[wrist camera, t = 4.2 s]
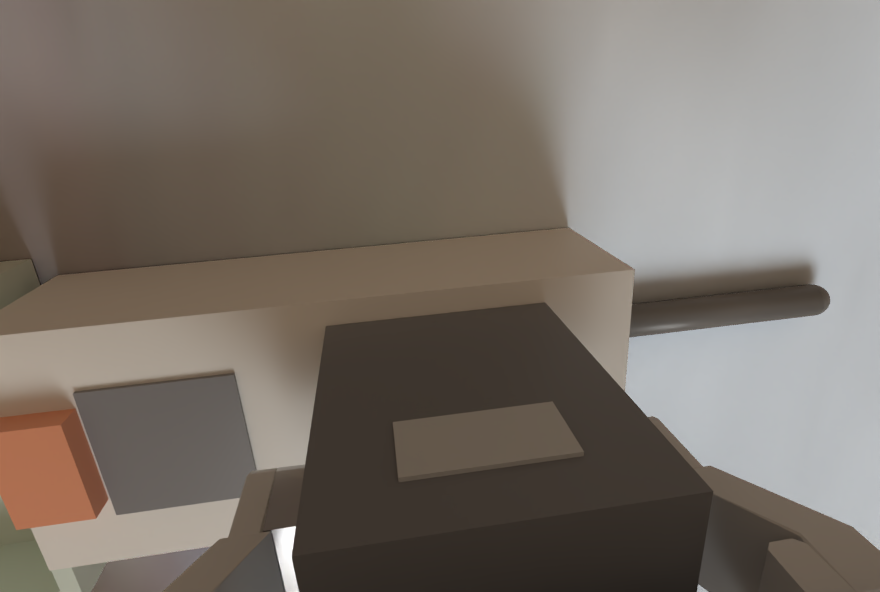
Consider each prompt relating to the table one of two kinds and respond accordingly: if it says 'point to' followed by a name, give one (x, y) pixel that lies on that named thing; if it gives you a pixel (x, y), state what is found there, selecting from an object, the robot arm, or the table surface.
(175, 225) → the table surface
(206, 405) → the power strip
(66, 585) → the parts tray
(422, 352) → the block
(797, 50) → the table surface
